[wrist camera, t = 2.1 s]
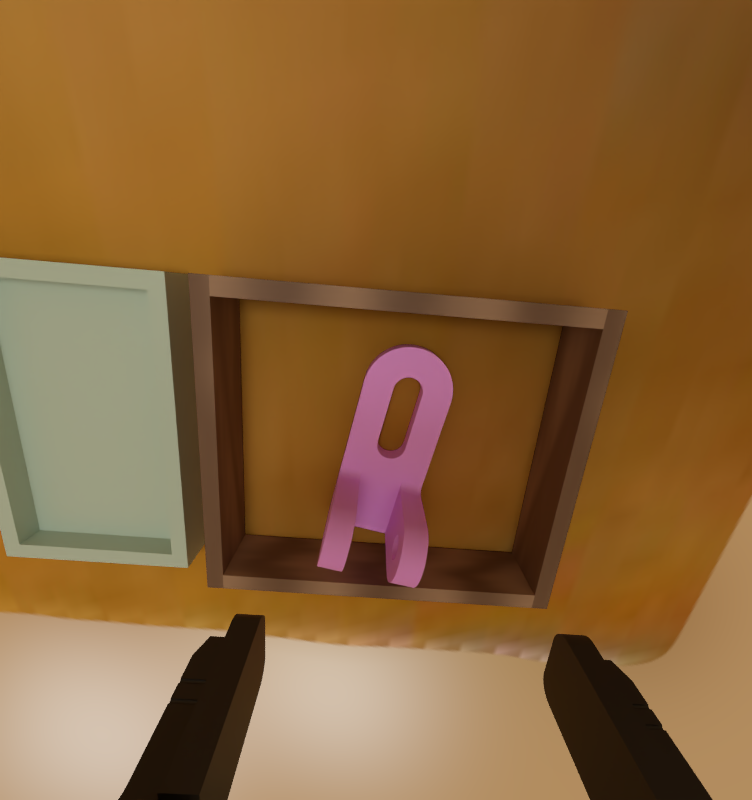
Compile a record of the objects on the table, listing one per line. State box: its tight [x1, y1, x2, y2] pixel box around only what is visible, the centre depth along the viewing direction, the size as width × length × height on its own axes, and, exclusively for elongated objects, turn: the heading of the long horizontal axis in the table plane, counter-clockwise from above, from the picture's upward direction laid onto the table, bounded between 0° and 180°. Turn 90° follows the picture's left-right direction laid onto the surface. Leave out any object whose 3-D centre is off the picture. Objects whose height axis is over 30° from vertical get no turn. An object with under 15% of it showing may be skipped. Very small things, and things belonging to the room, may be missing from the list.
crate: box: [188, 273, 628, 609], centre depth 22 cm, size 22×19×4 cm
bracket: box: [317, 344, 453, 588], centre depth 21 cm, size 13×6×7 cm, turn 165°
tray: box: [0, 258, 205, 568], centre depth 23 cm, size 12×19×2 cm, turn 175°
